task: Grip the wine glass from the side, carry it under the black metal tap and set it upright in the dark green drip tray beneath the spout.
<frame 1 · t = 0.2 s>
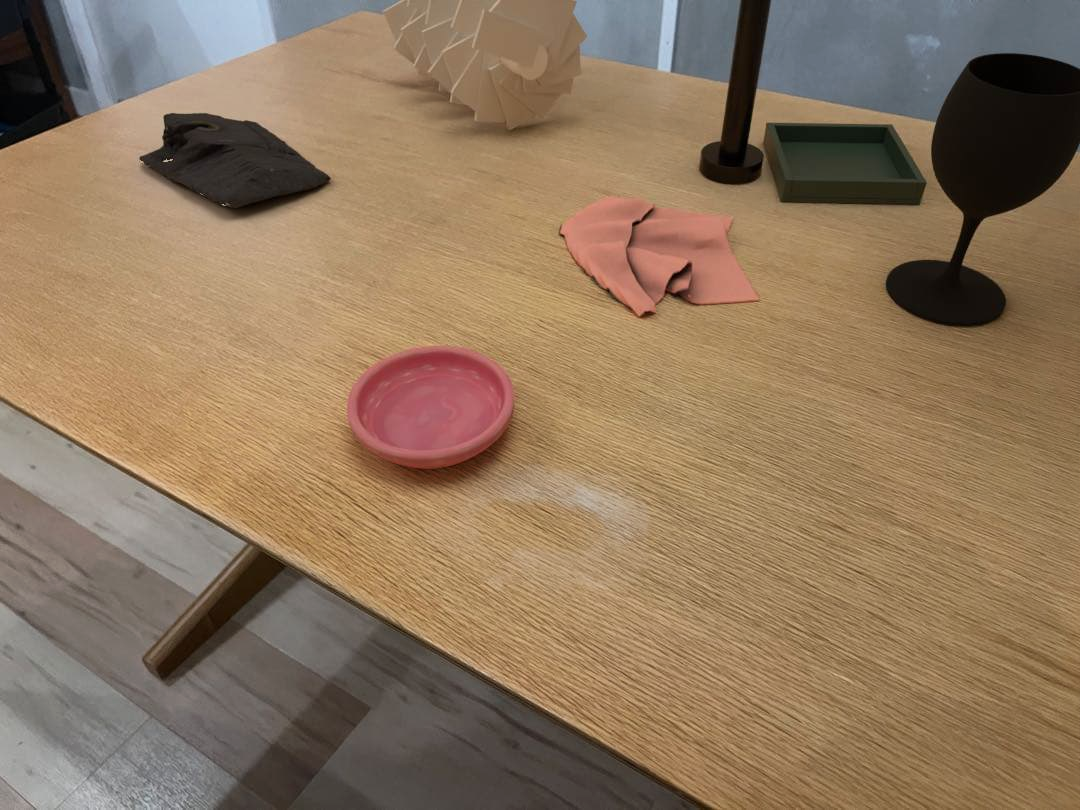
saucer: (435, 427, 63), on the table
cloth: (657, 258, 81), on the table
spiral staircase: (487, 105, 109), on the table
wine glass: (943, 295, 75), on the table
folded black garment: (236, 174, 95), on the table
drip tray: (836, 172, 93), on the table
tap: (729, 170, 94), on the table
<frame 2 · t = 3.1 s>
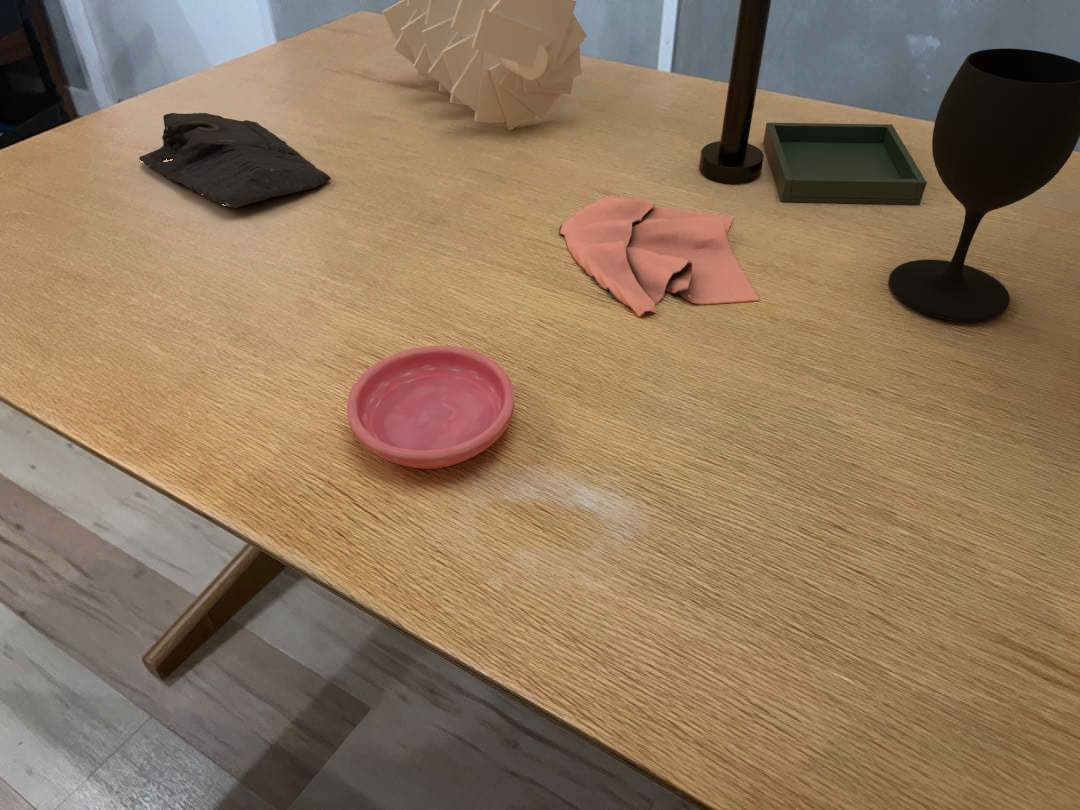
wine glass: (946, 292, 75), on the table, touching gripper
everything else where it was.
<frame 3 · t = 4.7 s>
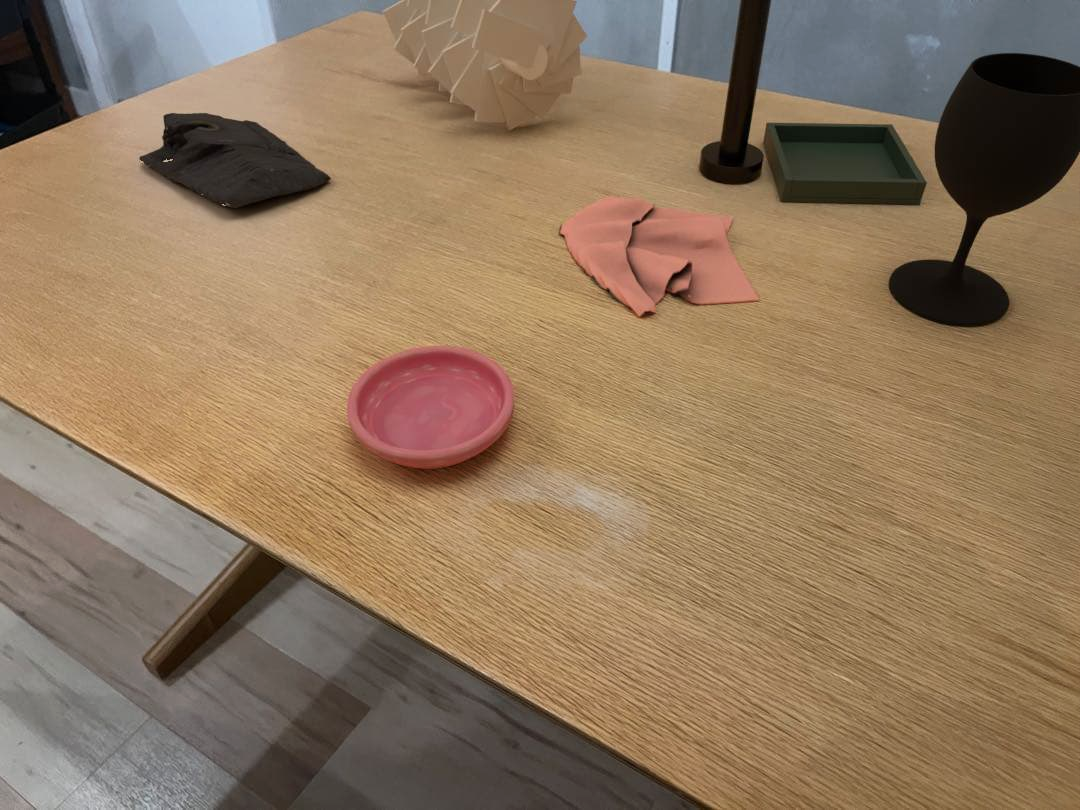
wine glass: (946, 295, 76), on the table
everything else where it was.
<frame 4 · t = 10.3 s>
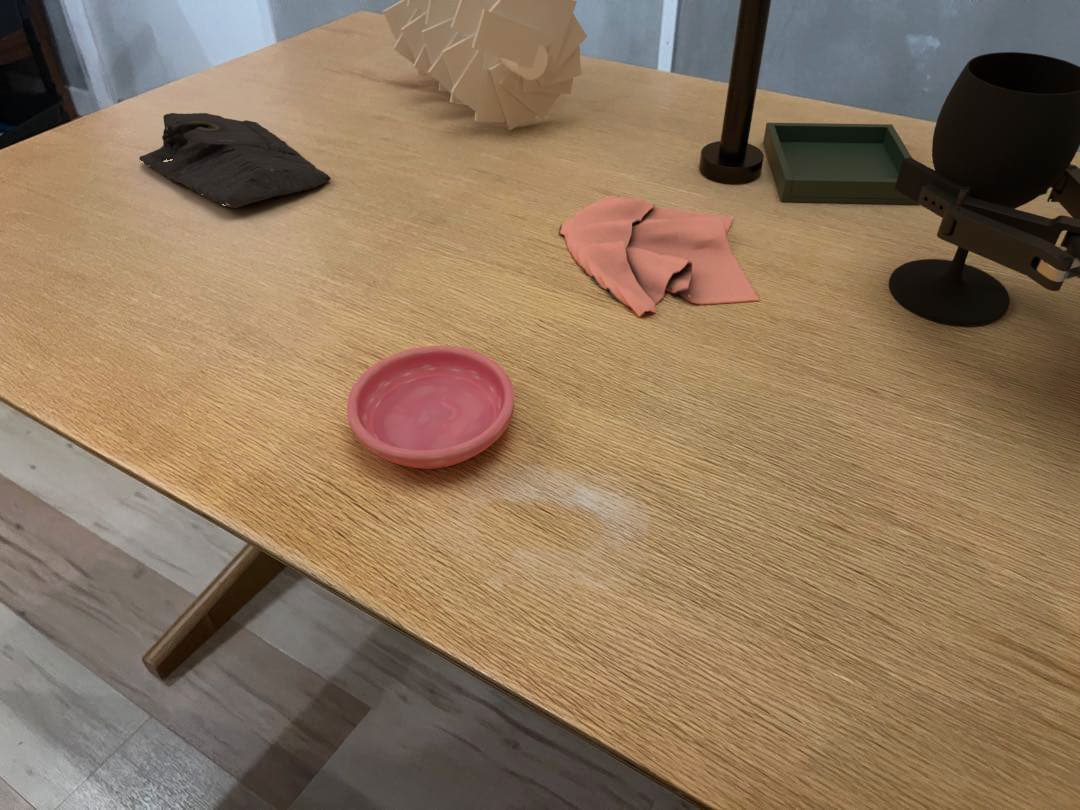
hand: (945, 161, 71), 11 cm above the table, tool horizontal, fingers closed on wine glass, 9 cm apart
wine glass: (946, 294, 75), on the table, touching gripper
everything else where it was.
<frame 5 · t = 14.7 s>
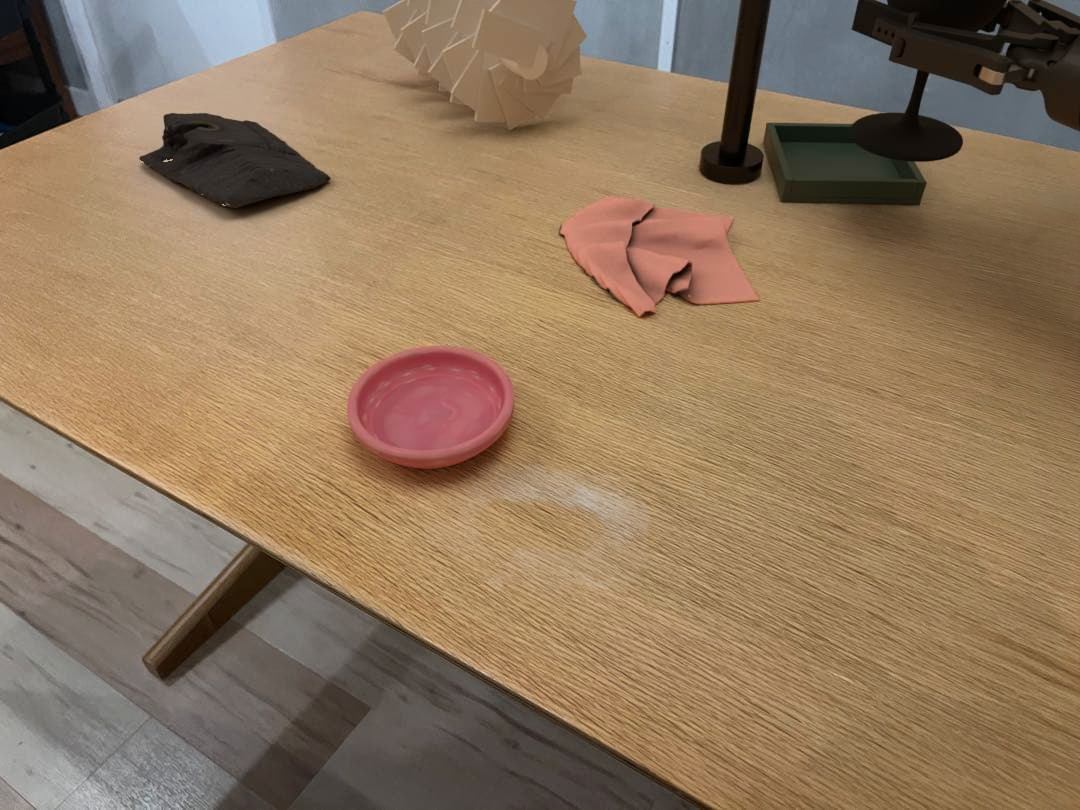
hand: (899, 4, 75), 20 cm above the table, tool horizontal, fingers closed on wine glass, 9 cm apart
wine glass: (904, 140, 80), point 9 cm above the table, touching gripper
everything else where it was.
when the fingers open (12 cm above the table, at t = 19.3 s): wine glass stays where it is, resting on drip tray.
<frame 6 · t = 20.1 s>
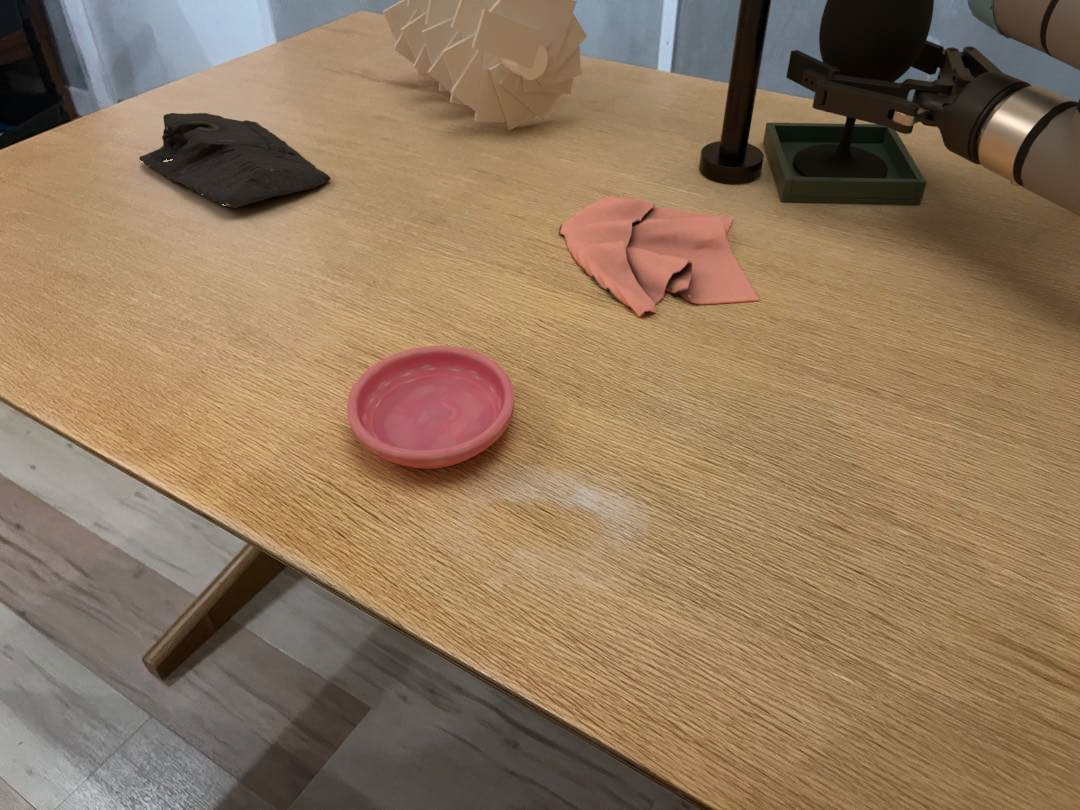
hand: (842, 52, 87), 12 cm above the table, tool horizontal, fingers open, 13 cm apart
wine glass: (838, 168, 93), resting on drip tray
everything else where it was.
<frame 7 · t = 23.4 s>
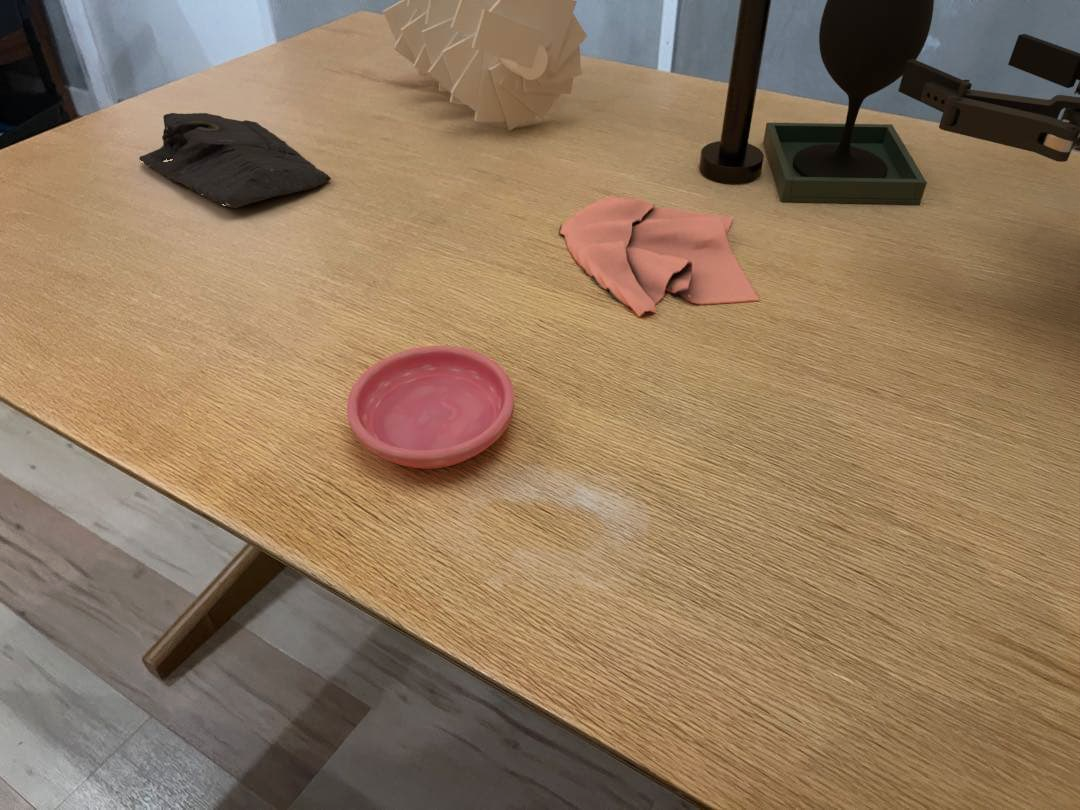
hand: (962, 61, 75), 16 cm above the table, tool horizontal, fingers open, 13 cm apart
nothing on the table moved.
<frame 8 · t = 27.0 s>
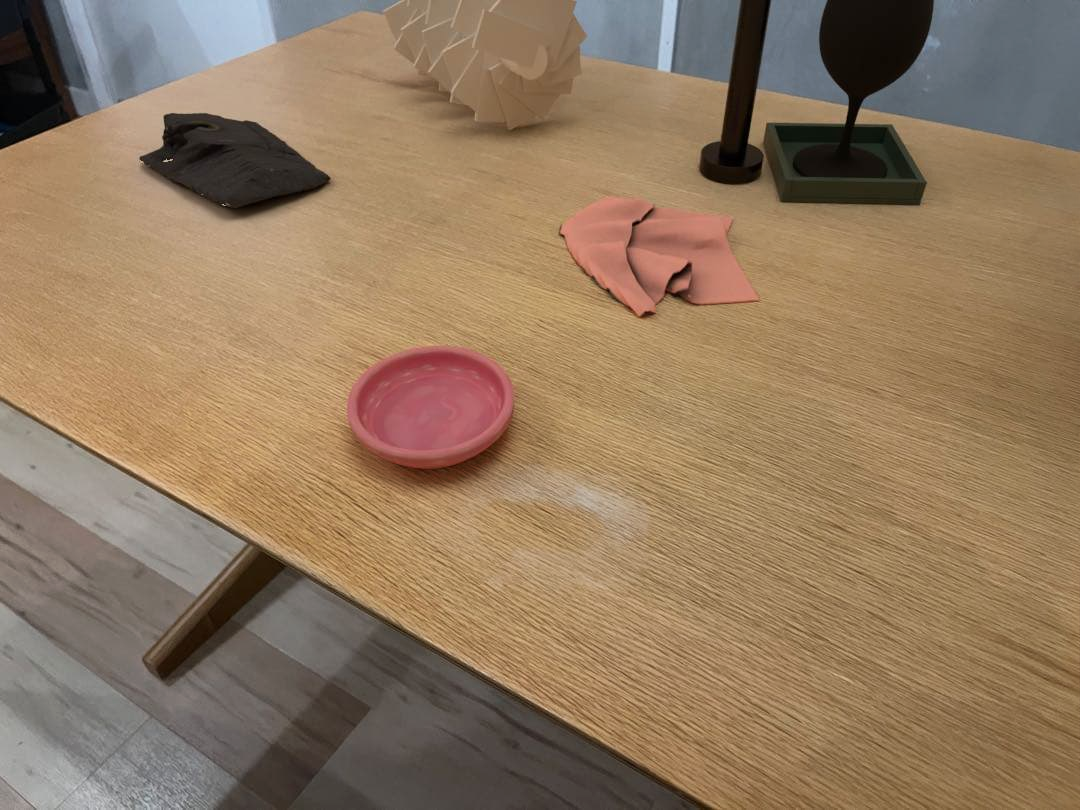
nothing on the table moved.
at the end: wine glass inside the target area in the drip tray (0.2 cm from its centre), point 0.4 cm above the drip tray's base; wine glass tilted 0°; the gripper is holding nothing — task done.
